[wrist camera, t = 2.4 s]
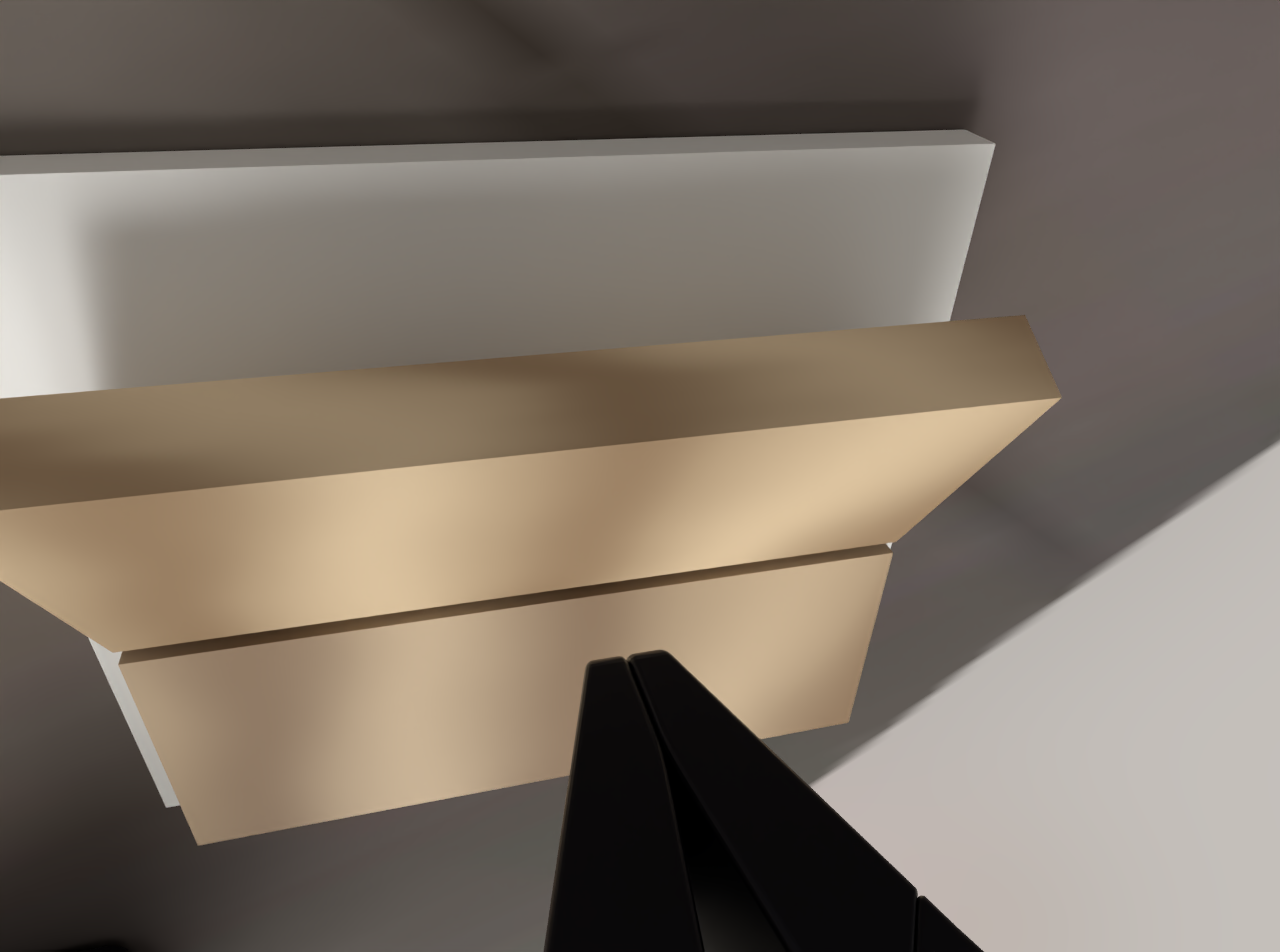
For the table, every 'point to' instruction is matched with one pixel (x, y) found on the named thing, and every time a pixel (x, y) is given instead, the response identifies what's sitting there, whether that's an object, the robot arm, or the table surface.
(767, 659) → the laid plank
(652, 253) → the board
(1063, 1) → the table surface
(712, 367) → the raised plank
